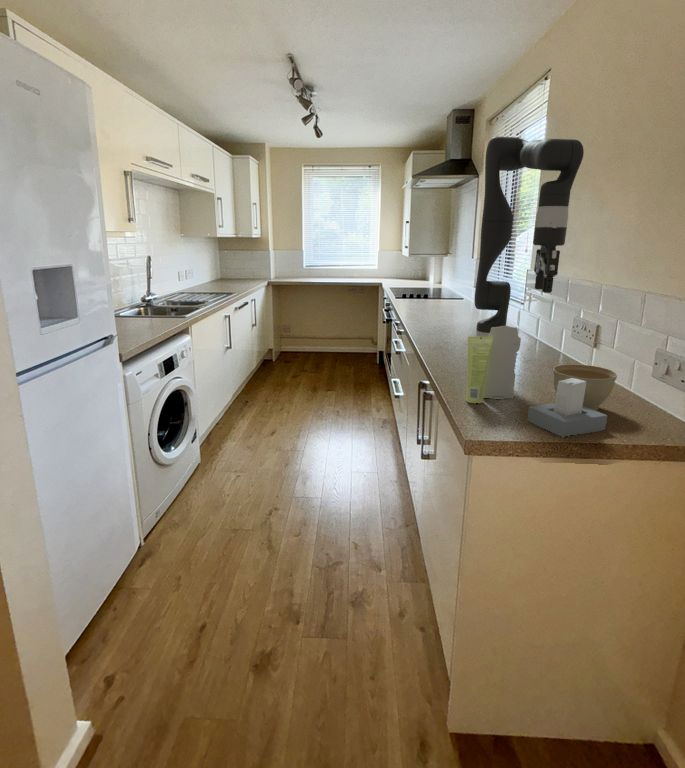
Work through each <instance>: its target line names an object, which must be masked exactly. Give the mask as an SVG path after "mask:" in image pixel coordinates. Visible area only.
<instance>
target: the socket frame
mask: <svg viewBox="0 0 685 768" xmlns="http://www.w3.org/2000/svg"><path fill="white" fill-rule="evenodd" d="M554 405H555V402H553V403H552V402H551V403H546V404H541V405H540V404H538V405H531V406H528V412H527V413H528V414H527V422H528V421H529V422H528V423H530V422H531V423H530V424H532V423H533V424H532V425H535V426H536V427H538V428H541V429H543V430H545V429H546V431H547V430H548V431H547V432H549V431H550V433H551V432H552V433H551V434H553V433H555V434H554V435H556V434H557V435H556V436H558V435H559V436H558V437H560V436H561V437H560V438H566V437H565V436H568V437H571V436H570V435H574V436H578V435H577V434H580V435H585V433H586V434H591V432H592V433H597V432H603V431H606V427H607V426H606V425H607V421H608V420H607V419H608V414H605V413H603V412H600V411H598V410H597V411H595V410H592V409H590V408H587V407H584V406H582V412H581V414H578V415H571V416H565V417H564V416H562V415H559V414H557V413H555V412H554ZM602 430H603V431H602Z"/></svg>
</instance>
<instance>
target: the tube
mask: <svg viewBox="0 0 685 768" xmlns="http://www.w3.org/2000/svg"><path fill="white" fill-rule="evenodd" d="M492 342H493V337H476V335H475V336H474V335H473V336H469V335H467V377H466V393H465V394H466V395H465V401H466V402H467V403H470V404H476V403H478V404H482V403H483V402H484V399H483V397H484V390H485V382H486V375H487V369H488V363H489V357H490V352H491V347H492ZM476 405H477V404H476Z"/></svg>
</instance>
